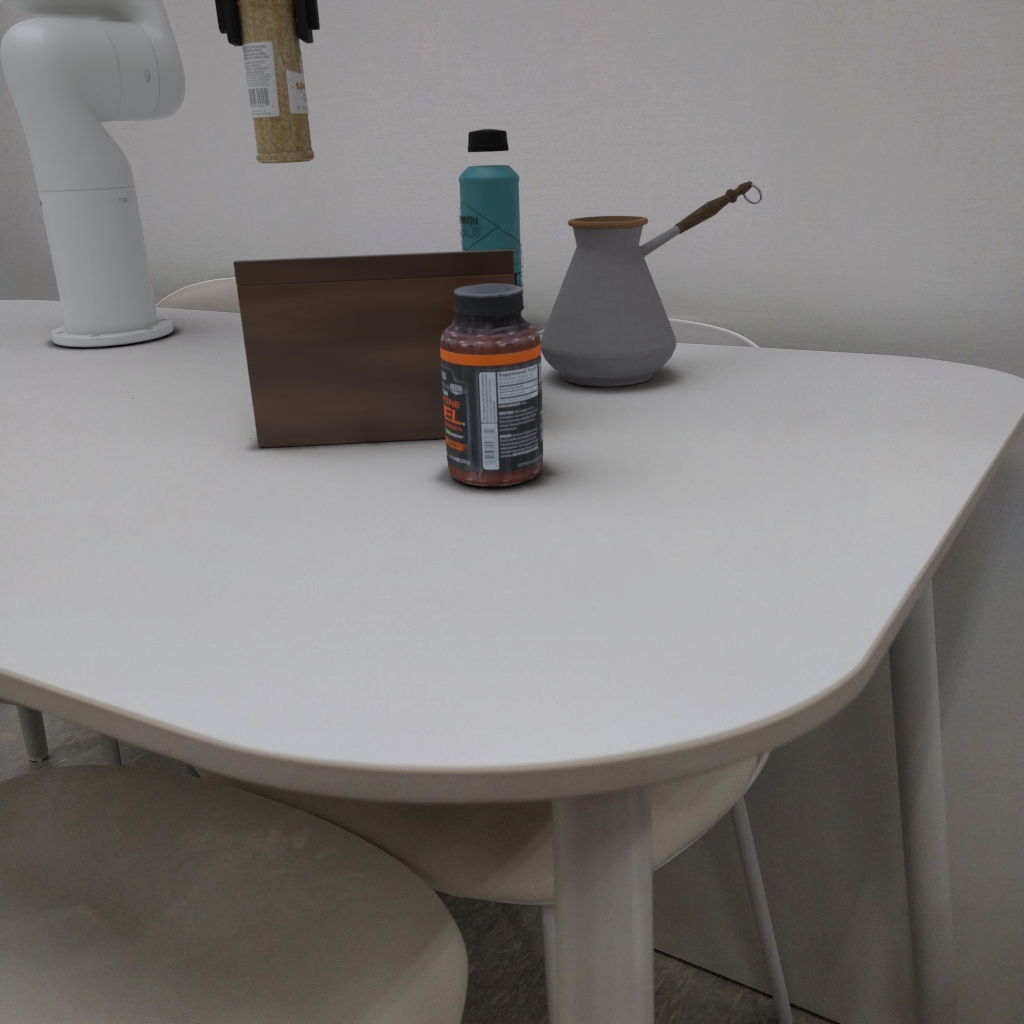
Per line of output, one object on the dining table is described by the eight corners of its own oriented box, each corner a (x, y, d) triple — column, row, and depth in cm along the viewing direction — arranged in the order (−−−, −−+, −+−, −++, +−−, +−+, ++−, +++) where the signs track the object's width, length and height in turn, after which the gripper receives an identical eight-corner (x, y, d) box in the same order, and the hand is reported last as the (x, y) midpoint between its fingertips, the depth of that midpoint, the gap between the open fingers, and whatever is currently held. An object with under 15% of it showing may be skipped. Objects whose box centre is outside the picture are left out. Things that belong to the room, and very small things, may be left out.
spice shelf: (293, 390, 81) (274, 237, 77) (506, 380, 82) (501, 227, 78) (258, 448, 66) (232, 261, 62) (519, 434, 67) (513, 249, 63)
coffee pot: (588, 400, 75) (587, 197, 70) (515, 373, 84) (509, 192, 79) (792, 362, 85) (805, 182, 79) (706, 342, 94) (712, 179, 89)
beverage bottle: (488, 320, 109) (480, 129, 101) (537, 325, 105) (532, 127, 98) (451, 330, 104) (440, 130, 97) (501, 336, 100) (493, 128, 93)
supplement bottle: (434, 467, 61) (421, 286, 57) (520, 453, 63) (514, 277, 59) (468, 496, 56) (457, 299, 52) (560, 480, 58) (557, 289, 54)
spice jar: (323, 161, 76) (303, -34, 71) (268, 163, 73) (243, -38, 69) (301, 161, 79) (280, -24, 75) (247, 164, 77) (222, -27, 72)
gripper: (364, -233, 71) (386, 43, 77) (129, -227, 70) (171, 52, 76) (355, -275, 64) (380, 33, 70) (94, -268, 63) (144, 42, 69)
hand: (271, 40), depth 73 cm, fingers closed on spice jar, 4 cm apart
